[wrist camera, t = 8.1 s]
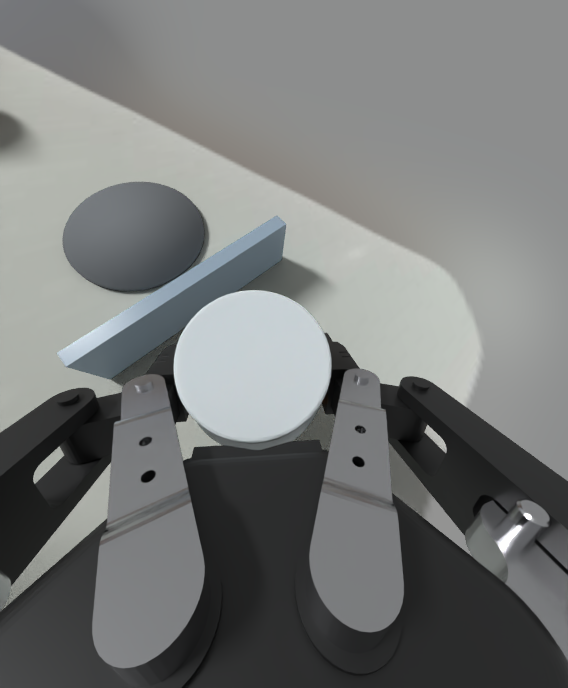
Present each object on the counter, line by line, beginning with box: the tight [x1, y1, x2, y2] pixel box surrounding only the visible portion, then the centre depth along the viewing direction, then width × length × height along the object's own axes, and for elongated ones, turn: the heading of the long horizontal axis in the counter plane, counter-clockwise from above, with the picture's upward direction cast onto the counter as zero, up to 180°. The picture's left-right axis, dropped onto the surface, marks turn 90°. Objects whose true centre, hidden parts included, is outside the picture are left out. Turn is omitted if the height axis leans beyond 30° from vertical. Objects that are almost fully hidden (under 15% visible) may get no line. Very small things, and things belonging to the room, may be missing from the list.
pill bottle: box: [174, 290, 332, 450], centre depth 12 cm, size 6×6×10 cm
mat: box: [63, 182, 204, 291], centre depth 20 cm, size 11×11×1 cm
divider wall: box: [57, 216, 286, 379], centre depth 17 cm, size 16×1×4 cm, turn 132°
